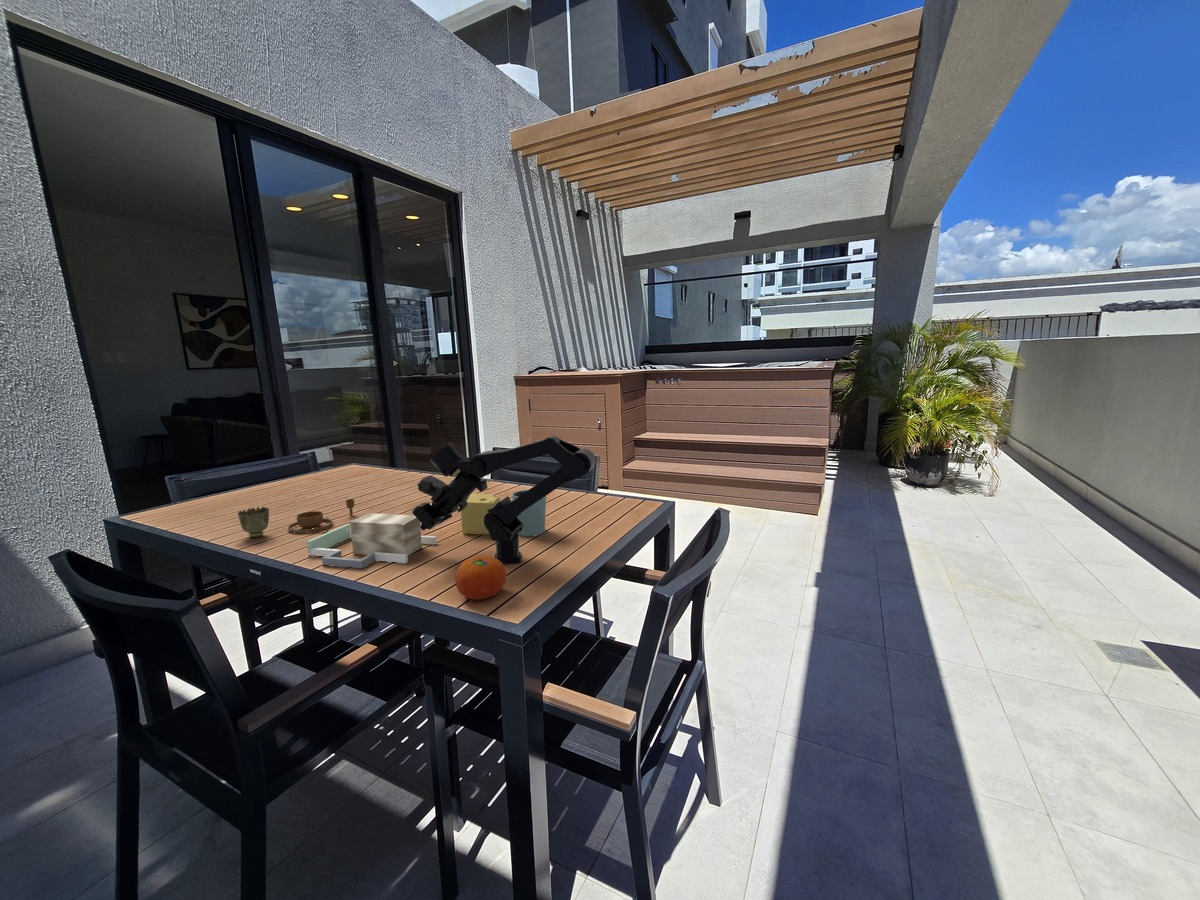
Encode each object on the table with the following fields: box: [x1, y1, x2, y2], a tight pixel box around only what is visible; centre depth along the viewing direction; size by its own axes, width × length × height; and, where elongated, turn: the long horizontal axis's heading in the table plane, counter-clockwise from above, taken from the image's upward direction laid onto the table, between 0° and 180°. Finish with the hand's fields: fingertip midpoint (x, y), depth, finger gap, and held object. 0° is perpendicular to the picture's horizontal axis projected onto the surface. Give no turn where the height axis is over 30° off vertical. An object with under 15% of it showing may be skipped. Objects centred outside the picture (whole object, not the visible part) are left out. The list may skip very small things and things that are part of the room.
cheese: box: [460, 493, 501, 535], centre depth 148 cm, size 10×11×10 cm
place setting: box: [287, 498, 355, 534], centre depth 153 cm, size 18×20×6 cm
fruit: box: [454, 555, 507, 600], centre depth 104 cm, size 11×10×8 cm
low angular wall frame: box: [306, 523, 437, 569], centre depth 131 cm, size 28×25×4 cm
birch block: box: [350, 512, 423, 557], centre depth 130 cm, size 15×8×9 cm, turn 81°
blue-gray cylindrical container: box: [511, 489, 547, 537], centre depth 145 cm, size 10×10×12 cm
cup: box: [237, 506, 270, 539], centre depth 142 cm, size 8×7×8 cm
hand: (422, 528), depth 128 cm, fingers closed
